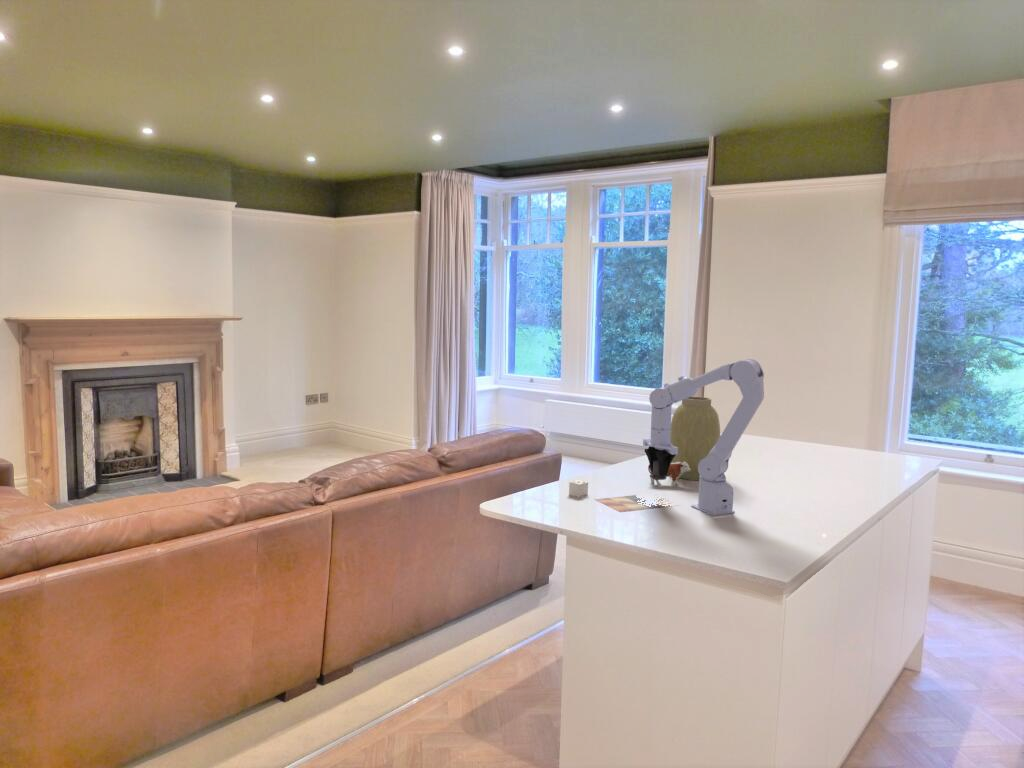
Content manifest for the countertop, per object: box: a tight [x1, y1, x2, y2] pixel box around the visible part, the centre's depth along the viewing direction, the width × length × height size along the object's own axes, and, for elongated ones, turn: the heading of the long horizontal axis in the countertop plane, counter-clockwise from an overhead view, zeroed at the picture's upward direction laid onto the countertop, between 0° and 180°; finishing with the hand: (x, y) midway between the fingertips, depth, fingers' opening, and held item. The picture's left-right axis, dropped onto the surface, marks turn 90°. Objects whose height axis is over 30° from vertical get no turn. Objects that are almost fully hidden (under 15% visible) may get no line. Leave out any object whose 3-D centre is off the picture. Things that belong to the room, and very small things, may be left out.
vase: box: [670, 396, 721, 481], centre depth 241 cm, size 17×17×27 cm
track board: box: [594, 494, 673, 513], centre depth 206 cm, size 14×20×1 cm
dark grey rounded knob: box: [650, 460, 667, 481], centre depth 208 cm, size 4×4×5 cm
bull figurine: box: [647, 461, 691, 487], centre depth 228 cm, size 4×13×8 cm, turn 78°
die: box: [568, 479, 589, 498], centre depth 214 cm, size 4×4×4 cm
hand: (658, 474), depth 208 cm, fingers closed on dark grey rounded knob, 4 cm apart
